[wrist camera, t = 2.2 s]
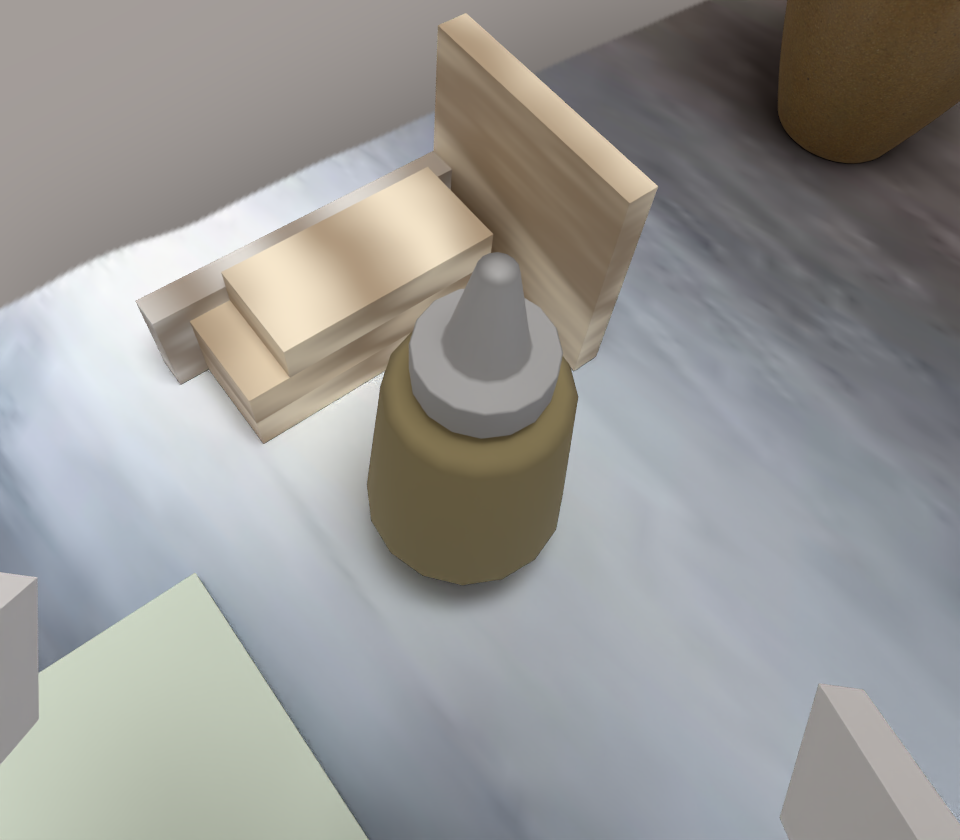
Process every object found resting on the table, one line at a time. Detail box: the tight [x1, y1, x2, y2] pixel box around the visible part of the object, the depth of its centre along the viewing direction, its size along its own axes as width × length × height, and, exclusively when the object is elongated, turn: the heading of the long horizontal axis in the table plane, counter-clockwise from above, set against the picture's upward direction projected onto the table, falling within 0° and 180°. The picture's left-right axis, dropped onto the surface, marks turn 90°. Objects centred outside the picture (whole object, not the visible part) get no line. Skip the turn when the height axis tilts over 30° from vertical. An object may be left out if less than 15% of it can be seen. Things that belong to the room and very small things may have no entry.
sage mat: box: [0, 573, 369, 840], centre depth 30 cm, size 13×13×1 cm
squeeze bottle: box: [367, 252, 578, 585], centre depth 30 cm, size 8×8×18 cm
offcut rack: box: [136, 13, 658, 444], centre depth 36 cm, size 18×12×12 cm
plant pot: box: [778, 0, 960, 163], centre depth 45 cm, size 15×15×16 cm
